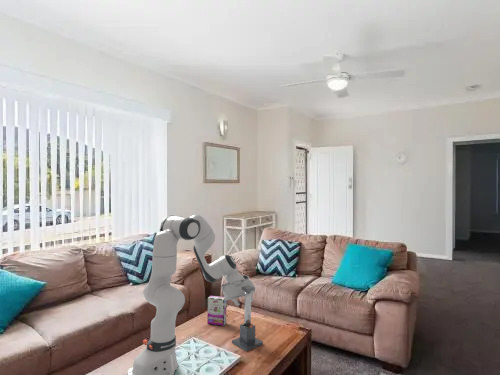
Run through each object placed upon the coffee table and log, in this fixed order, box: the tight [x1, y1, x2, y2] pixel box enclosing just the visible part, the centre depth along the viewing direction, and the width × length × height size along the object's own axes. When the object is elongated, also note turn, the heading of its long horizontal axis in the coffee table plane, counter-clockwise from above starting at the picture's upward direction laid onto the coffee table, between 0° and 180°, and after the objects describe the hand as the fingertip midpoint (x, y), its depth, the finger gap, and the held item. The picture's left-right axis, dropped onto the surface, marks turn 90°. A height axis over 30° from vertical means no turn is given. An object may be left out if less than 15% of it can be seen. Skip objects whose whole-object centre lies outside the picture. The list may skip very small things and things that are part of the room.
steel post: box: [242, 285, 256, 328], centre depth 177 cm, size 5×5×24 cm
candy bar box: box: [206, 295, 228, 327], centre depth 202 cm, size 11×5×16 cm, turn 73°
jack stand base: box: [231, 323, 264, 352], centre depth 177 cm, size 12×12×11 cm
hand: (245, 303), depth 178 cm, fingers open, 8 cm apart
